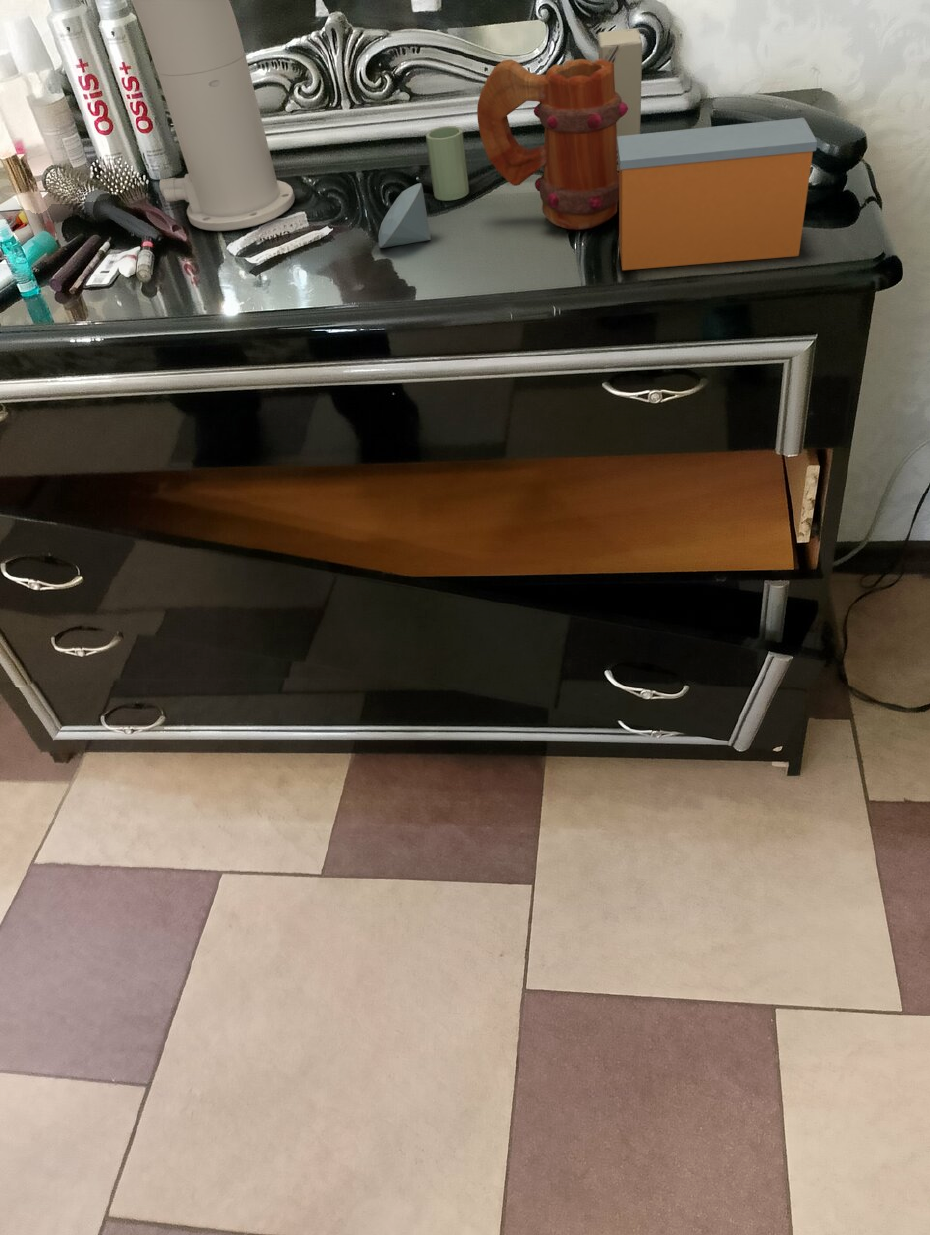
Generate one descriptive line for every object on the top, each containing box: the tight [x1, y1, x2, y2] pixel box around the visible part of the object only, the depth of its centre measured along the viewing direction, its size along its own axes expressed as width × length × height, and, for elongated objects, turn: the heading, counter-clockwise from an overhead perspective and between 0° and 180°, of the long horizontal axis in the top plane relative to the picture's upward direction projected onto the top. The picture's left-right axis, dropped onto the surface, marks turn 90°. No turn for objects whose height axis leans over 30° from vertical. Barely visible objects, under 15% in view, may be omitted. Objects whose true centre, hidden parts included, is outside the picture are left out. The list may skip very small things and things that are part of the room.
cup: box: [425, 125, 470, 202], centre depth 104 cm, size 4×4×6 cm
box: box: [597, 27, 643, 172], centre depth 102 cm, size 5×4×13 cm
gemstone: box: [377, 182, 432, 249], centre depth 97 cm, size 8×8×5 cm
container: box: [617, 117, 818, 271], centre depth 85 cm, size 16×6×10 cm, turn 86°
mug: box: [476, 58, 628, 231], centre depth 92 cm, size 15×8×15 cm, turn 74°
